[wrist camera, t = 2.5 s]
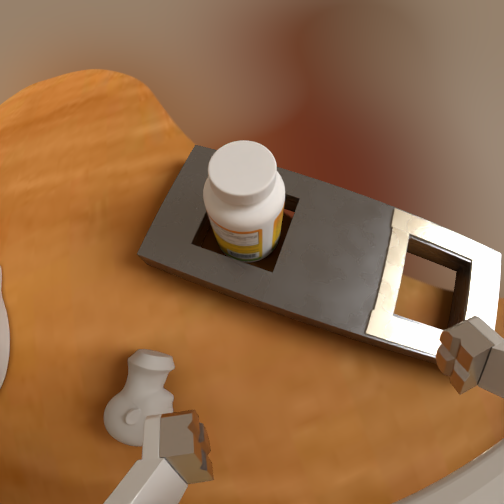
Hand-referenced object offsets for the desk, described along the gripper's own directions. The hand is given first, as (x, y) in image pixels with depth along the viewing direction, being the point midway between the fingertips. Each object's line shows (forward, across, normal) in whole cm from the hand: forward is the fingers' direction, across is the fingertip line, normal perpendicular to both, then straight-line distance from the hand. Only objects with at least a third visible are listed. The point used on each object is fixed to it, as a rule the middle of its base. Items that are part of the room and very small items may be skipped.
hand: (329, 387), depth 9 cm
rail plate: (+16, -6, +5) cm, 18 cm away
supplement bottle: (+19, 0, +2) cm, 20 cm away
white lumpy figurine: (+11, +11, +11) cm, 19 cm away
